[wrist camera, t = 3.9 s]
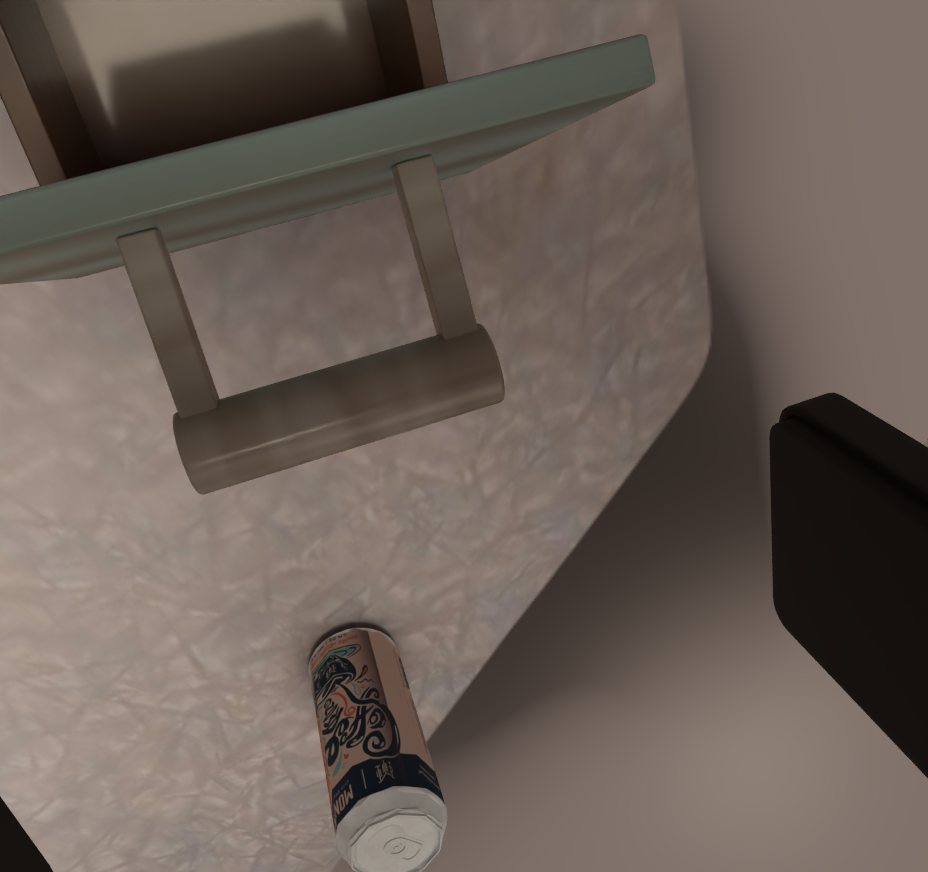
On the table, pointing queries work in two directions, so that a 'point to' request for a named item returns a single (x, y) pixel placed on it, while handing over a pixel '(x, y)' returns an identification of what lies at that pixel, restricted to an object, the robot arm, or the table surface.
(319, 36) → the chest
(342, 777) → the beer can
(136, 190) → the lid
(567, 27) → the table surface
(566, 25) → the table surface
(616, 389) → the table surface
